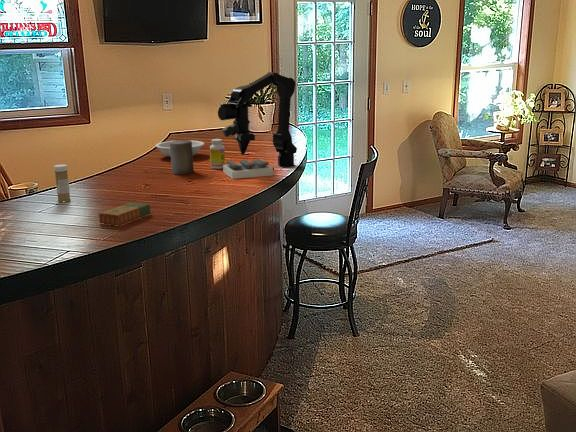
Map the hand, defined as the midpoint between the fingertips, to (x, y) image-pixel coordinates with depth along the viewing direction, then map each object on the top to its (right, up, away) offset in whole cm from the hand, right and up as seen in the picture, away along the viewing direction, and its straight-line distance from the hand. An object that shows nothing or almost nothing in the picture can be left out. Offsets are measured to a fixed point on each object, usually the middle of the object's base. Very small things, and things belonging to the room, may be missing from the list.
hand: (242, 154), depth 274 cm
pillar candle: (-27, -7, +8) cm, 29 cm away
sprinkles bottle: (-63, -21, -39) cm, 77 cm away
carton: (-34, -28, -64) cm, 78 cm away
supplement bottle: (-13, -5, +17) cm, 21 cm away
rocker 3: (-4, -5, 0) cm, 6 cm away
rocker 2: (+2, -4, +2) cm, 5 cm away
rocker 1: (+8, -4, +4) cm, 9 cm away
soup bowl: (-34, +3, +44) cm, 56 cm away
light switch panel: (+3, -8, +3) cm, 9 cm away
